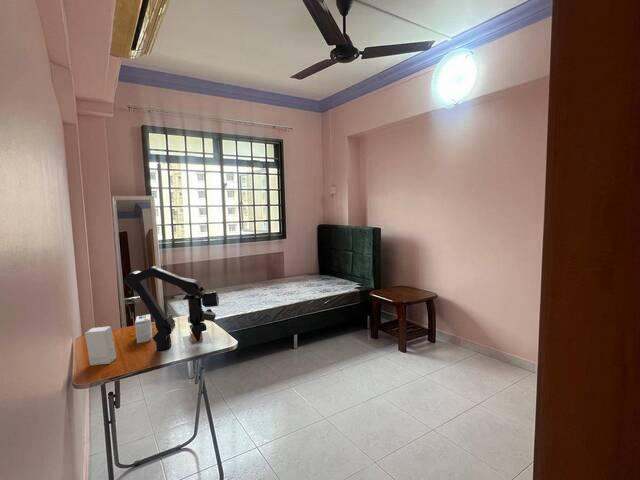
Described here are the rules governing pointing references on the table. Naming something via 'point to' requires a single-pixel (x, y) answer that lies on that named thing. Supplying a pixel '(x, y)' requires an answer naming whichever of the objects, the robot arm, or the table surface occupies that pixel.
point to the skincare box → (100, 345)
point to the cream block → (194, 337)
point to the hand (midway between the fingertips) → (198, 341)
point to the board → (189, 343)
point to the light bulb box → (143, 328)
